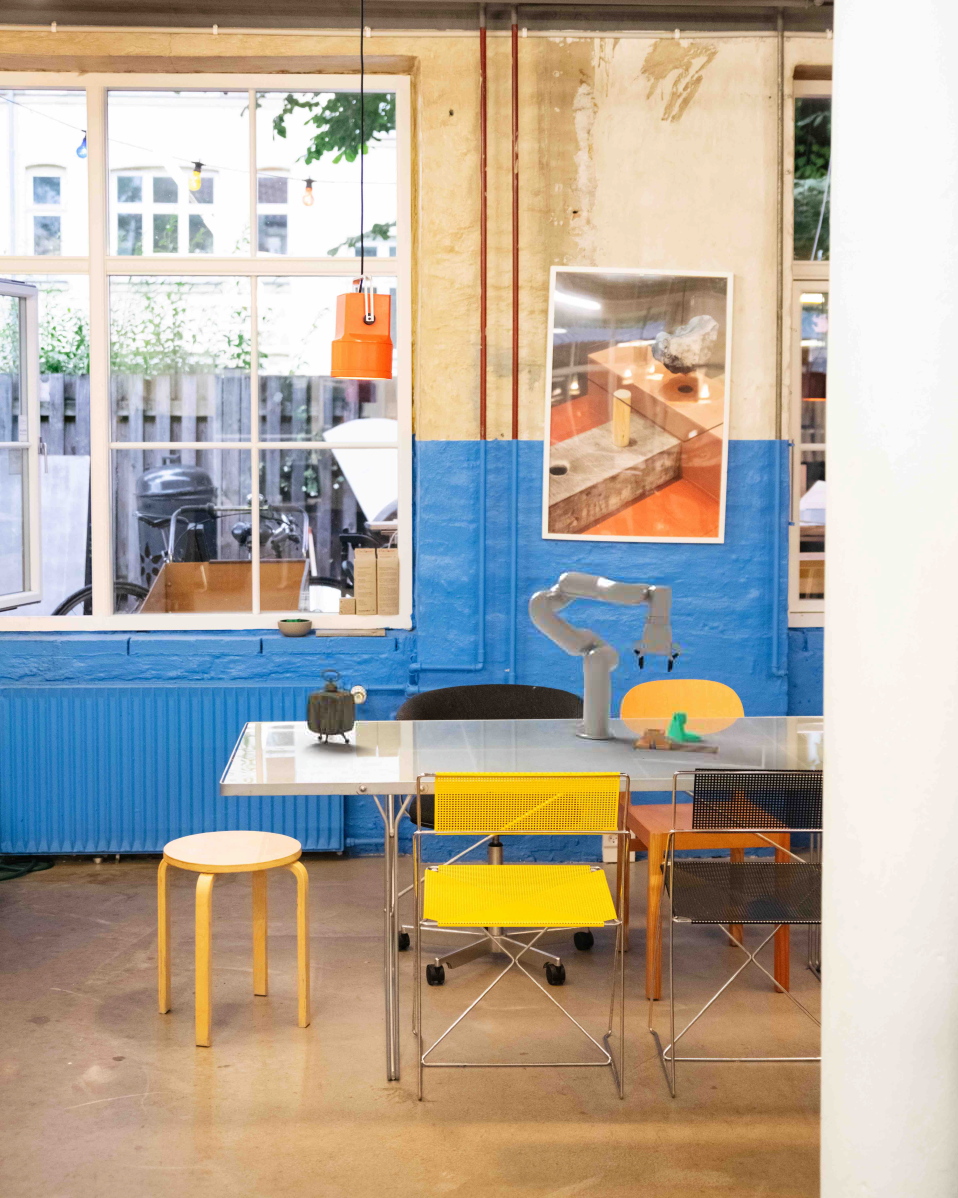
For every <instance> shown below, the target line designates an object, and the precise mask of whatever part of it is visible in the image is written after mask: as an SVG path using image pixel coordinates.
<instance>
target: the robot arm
mask: <svg viewBox="0 0 958 1198" xmlns="http://www.w3.org/2000/svg"><path fill="white" fill-rule="evenodd" d="M672 592H673V591H672V588H671V587H670V586H667V585H652V584H648V583H641V582H640V583H639V582H638V583H634V584H633V583H625V582H619V581H614V580H613V581H612V580H610V579H607V577H605V576H600V575H594V574H593V575H592V574H585V573H583V572H580V571H568V572H565V573H562V574H561V575H560V576H559V578H558V580H557V584H556V585H554V586H553V587H551V588H550V589H546V590H544V589H543V590H540V591H537V592H536V593H534V594H532V596H531V598H530V600H529V603H528V614H529V617H530V619H531V622H532V624H534V626H535V627H536V628H537V629H538V630H539V631H540V632H542V634H544V635H545V636H547V637H548V638H549V639H550V640H552V641H553V642H554V643H555V644H557V646H559V647H560V648H561V649H562V650H563V651H565V652H566V653H567V654H568V655H570V656H573V657H578V656H582V657H583V663H582V668H583V671H582V672H583V685H584V686H583V710H582V711H583V718H582V722H580V723H570V729H571V730H578V737H581V738H584V739H588V740H589V739H590V740H608V739H613V738H614V737H615V735H614V732H612V731H610V730H611V729H610V727H611V726H610V725H611V723H610V722H611V700H612V699H611V694H612V682H611V681H612V680H611V672H612V671H614V670H616V668H617V667H618V665H619V662H620V656H619V653H618V652H617V650H616V649H615V648H614V647H613V646H612V645H610V643H608V642H606V641H605V640H604V639H603V638H601V637H600V636H599V635H598V634H596V633H595V632H593V631H592V630H591V629H588V628H583V627H581V628H576V627H574V626H573V625H572V624H570V623H569V622H568V621H567V620H565V619H564V618H562V617H561V616H559V615H558V614H556V613H557V612H559V611H561V610H562V609H564V608H565V607H567V606H568V605H570V603H572V602H573V601H574V600H576V599H578V598H582V599H589V600H594V601H600V602H605V603H606V602H607V603H611V604H617V605H623V606H630V607H635V606H641V605H648V611H647V616H643V621H644V622H646V624H645V625H644V628H643V632H642V639H641V640H639V641H637V642H634V643H632V644H631V647H632V649H633V652H634V654H636V656H637V657H638V667H639V670H643V669H644V663H645V657H644V655H645V654H650V655H661V656H667V658H668V660H667V661H668V662H667V672H668V673H670V672H671V671H672V670H673V666H674V660H675V659H676V658H677V657H678V656H679V655H680V654H681V652H682V651H683V648H682V647H680V646H679V645H677V644H676V643H674V642H673V631H672V626H671V625H670V623H671V621H670V618H671V609H672V608H671V606H672ZM638 646H640V647H641V651H640V650H639V649H638ZM673 649H675V651H676V652H675V653H674V654H672V650H673Z"/></svg>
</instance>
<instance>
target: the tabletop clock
mask: <svg viewBox="0 0 958 1198" xmlns="http://www.w3.org/2000/svg"><path fill="white" fill-rule="evenodd" d="M326 672H332V673H335V674H337V676H338V678H337V679H333V678H332V677H329V679H327V678H326V677H324V674H325V673H326ZM321 677H322V679H323V680H324V681H325V682H327V683H325V684H324V686H323V688H322V690H317V691H314V692H310V693H309V695H308V698H307V702H306V703H307V704H306V725H307V728H308V730H309V731H311V732H312V733H314V734H319V736H317V740H318V741H322V740H323V735H324V736H325V740H323V744H324V745H329V740H328V739H329V736H338V735H340V736H341V737H342V738H343V739H344V744H346V745H349V744H350V739H349V738H347V737H346V735H345V733H349V732H351V731H353V730H354V726H355V721H356V702H355V701H356V699H355V696H354V694H353V693H352V692H351V691H349V690H345V689H344V690H343V689H339V686H338V684H336V683H337V682H338V681H340V678H341V675H340V673H339V671H337V670H335V669H330V668H329V669H325V670H324V671H323V672H322V673H321Z"/></svg>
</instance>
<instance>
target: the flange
mask: <svg viewBox="0 0 958 1198" xmlns="http://www.w3.org/2000/svg"><path fill="white" fill-rule="evenodd" d="M665 731H666V730H665V729H663V728H662V729H661V728H658V729H657V728H647V727H646V728H644V731H643V737H642V738H641V737H640V738H638V740H637V742H636V743H635V746H636V749H642V748H651V741H655V748H656V749H663V750H662V751H670V750H669V749H670V746H671V744H672V740H671V739H670V740H669V739H668V740H667V739H665V736H666V734H665V733H666V732H665ZM656 749H655V750H656Z"/></svg>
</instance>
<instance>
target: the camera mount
mask: <svg viewBox="0 0 958 1198" xmlns="http://www.w3.org/2000/svg"><path fill="white" fill-rule="evenodd" d="M687 719H688V717H687V714H686V713H685V712H684V711H683V712H681V711H680V712H674V713H673V715H672V719H671V722H670V725H669V728H668V731H667V732H668V733H667V736H669V737H672V738H674V739H676V740H678V741H680V742H701V741H702V736H700V734H699V735H698V734H697V733H695V732H692V731H690V730H685V727H684V726H685V725H686V724H687Z"/></svg>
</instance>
